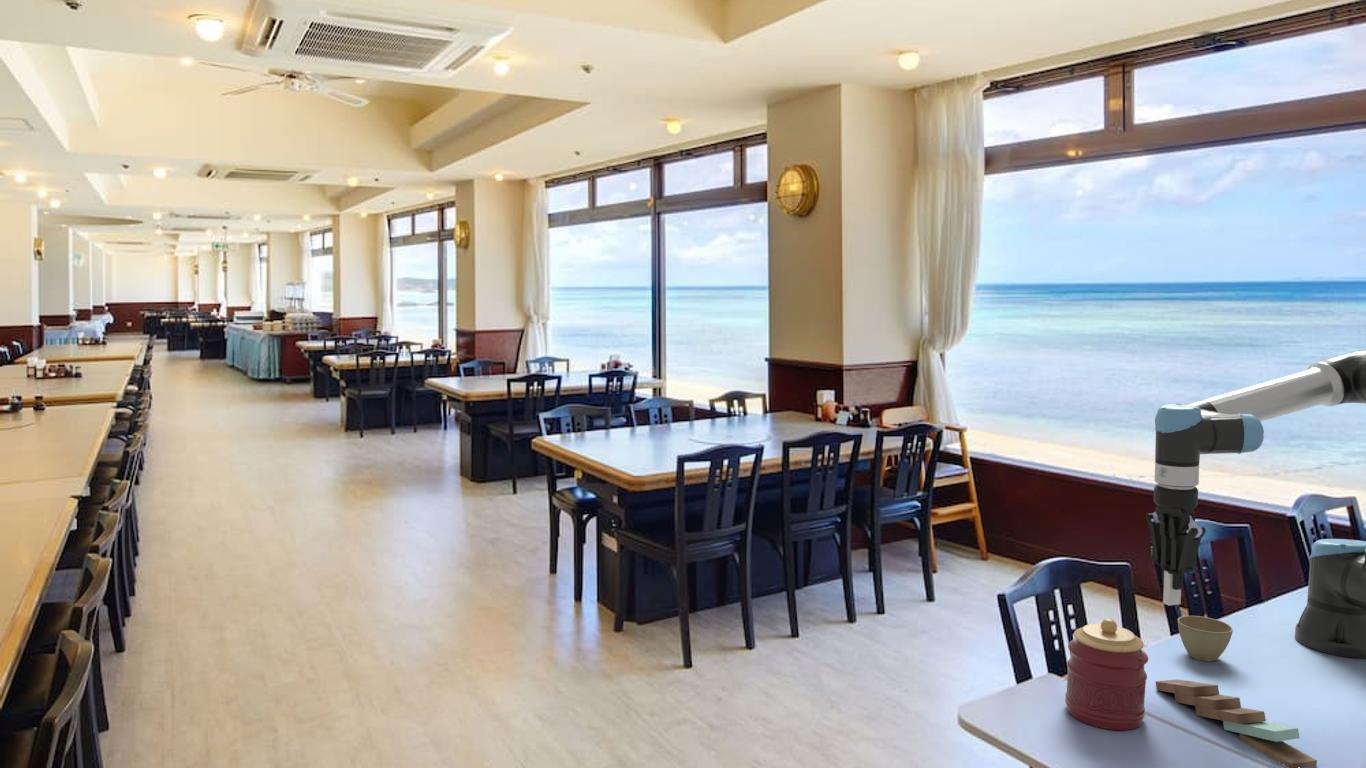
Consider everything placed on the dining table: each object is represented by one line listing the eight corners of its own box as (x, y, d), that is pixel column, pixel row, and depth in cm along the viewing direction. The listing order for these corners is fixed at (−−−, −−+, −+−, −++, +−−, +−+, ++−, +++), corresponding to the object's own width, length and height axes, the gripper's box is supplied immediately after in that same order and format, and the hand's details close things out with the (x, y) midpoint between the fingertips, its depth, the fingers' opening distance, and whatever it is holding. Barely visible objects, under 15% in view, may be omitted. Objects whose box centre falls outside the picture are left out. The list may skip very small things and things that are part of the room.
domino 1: (1178, 679, 174) (1217, 684, 164) (1179, 688, 174) (1219, 694, 164) (1155, 681, 173) (1193, 687, 163) (1156, 690, 173) (1195, 696, 163)
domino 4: (1245, 716, 159) (1298, 728, 149) (1246, 726, 158) (1299, 738, 149) (1222, 719, 157) (1274, 731, 148) (1224, 729, 157) (1276, 741, 148)
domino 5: (1264, 731, 155) (1316, 760, 145) (1263, 739, 155) (1316, 769, 145) (1239, 733, 154) (1291, 763, 144) (1239, 742, 154) (1290, 773, 144)
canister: (1142, 738, 154) (1148, 638, 152) (1060, 720, 160) (1065, 623, 158) (1145, 708, 165) (1151, 614, 163) (1069, 692, 171) (1074, 602, 169)
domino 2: (1197, 690, 169) (1239, 697, 159) (1199, 699, 169) (1241, 707, 159) (1174, 693, 168) (1214, 700, 158) (1175, 702, 168) (1216, 709, 158)
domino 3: (1218, 703, 164) (1264, 711, 154) (1220, 712, 163) (1265, 721, 154) (1195, 706, 163) (1239, 714, 153) (1196, 715, 162) (1241, 724, 153)
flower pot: (1238, 668, 183) (1241, 634, 182) (1184, 664, 185) (1187, 630, 184) (1219, 649, 193) (1222, 617, 192) (1168, 645, 195) (1171, 613, 194)
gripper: (1135, 479, 180) (1131, 594, 183) (1185, 493, 168) (1181, 617, 170) (1167, 477, 182) (1163, 591, 184) (1219, 490, 169) (1214, 613, 172)
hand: (1171, 603), depth 177 cm, fingers closed
